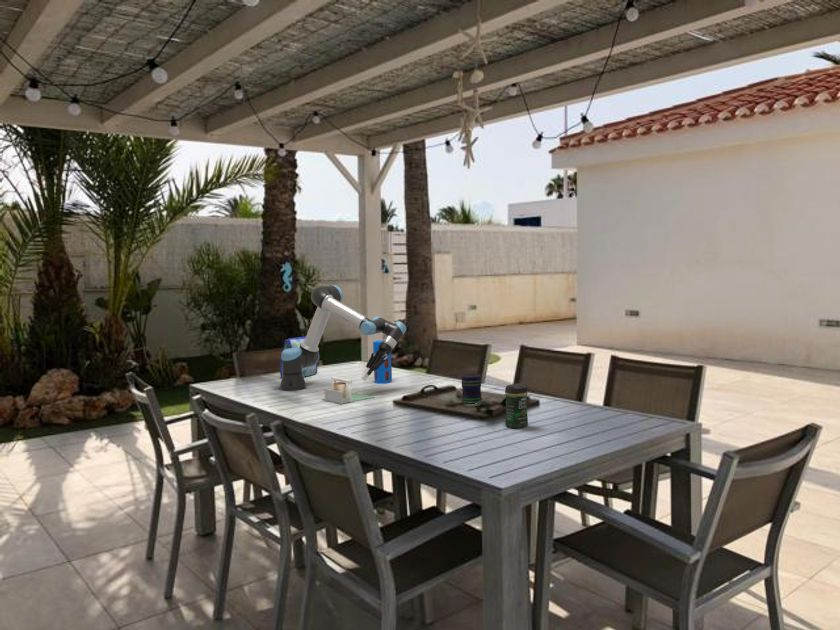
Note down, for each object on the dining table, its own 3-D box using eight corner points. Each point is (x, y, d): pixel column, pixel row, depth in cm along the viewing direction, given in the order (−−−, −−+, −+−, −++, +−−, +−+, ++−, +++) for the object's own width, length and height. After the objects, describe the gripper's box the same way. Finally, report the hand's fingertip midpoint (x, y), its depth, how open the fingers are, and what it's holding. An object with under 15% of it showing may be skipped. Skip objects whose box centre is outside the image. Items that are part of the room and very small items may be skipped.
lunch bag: (298, 380, 427) (296, 339, 425) (278, 378, 435) (276, 338, 433) (320, 374, 446) (319, 335, 444) (301, 373, 454) (300, 334, 452)
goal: (324, 399, 360) (324, 378, 359) (335, 397, 364) (334, 377, 363) (341, 403, 348) (340, 382, 347) (352, 401, 352) (351, 380, 352)
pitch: (321, 399, 362) (321, 398, 362) (355, 393, 377) (355, 392, 376) (340, 404, 349) (340, 403, 349) (374, 397, 363) (374, 397, 363)
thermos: (393, 380, 416) (391, 340, 414) (390, 383, 405) (389, 342, 403) (375, 380, 417) (374, 340, 415) (372, 383, 406) (371, 342, 404)
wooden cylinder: (330, 400, 356) (330, 383, 356) (340, 398, 362) (340, 381, 361) (339, 402, 352) (338, 385, 351) (349, 400, 357) (348, 383, 356)
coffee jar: (515, 429, 285) (514, 386, 283) (502, 426, 291) (501, 384, 290) (531, 426, 291) (530, 383, 289) (518, 423, 297) (517, 381, 295)
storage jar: (471, 408, 330) (470, 377, 329) (457, 405, 337) (457, 375, 336) (485, 405, 336) (485, 375, 335) (472, 402, 344) (471, 373, 343)
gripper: (398, 351, 373) (374, 384, 364) (383, 348, 383) (360, 381, 373) (390, 342, 369) (366, 376, 360) (376, 340, 379) (352, 373, 370)
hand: (363, 378), depth 367 cm, fingers closed
